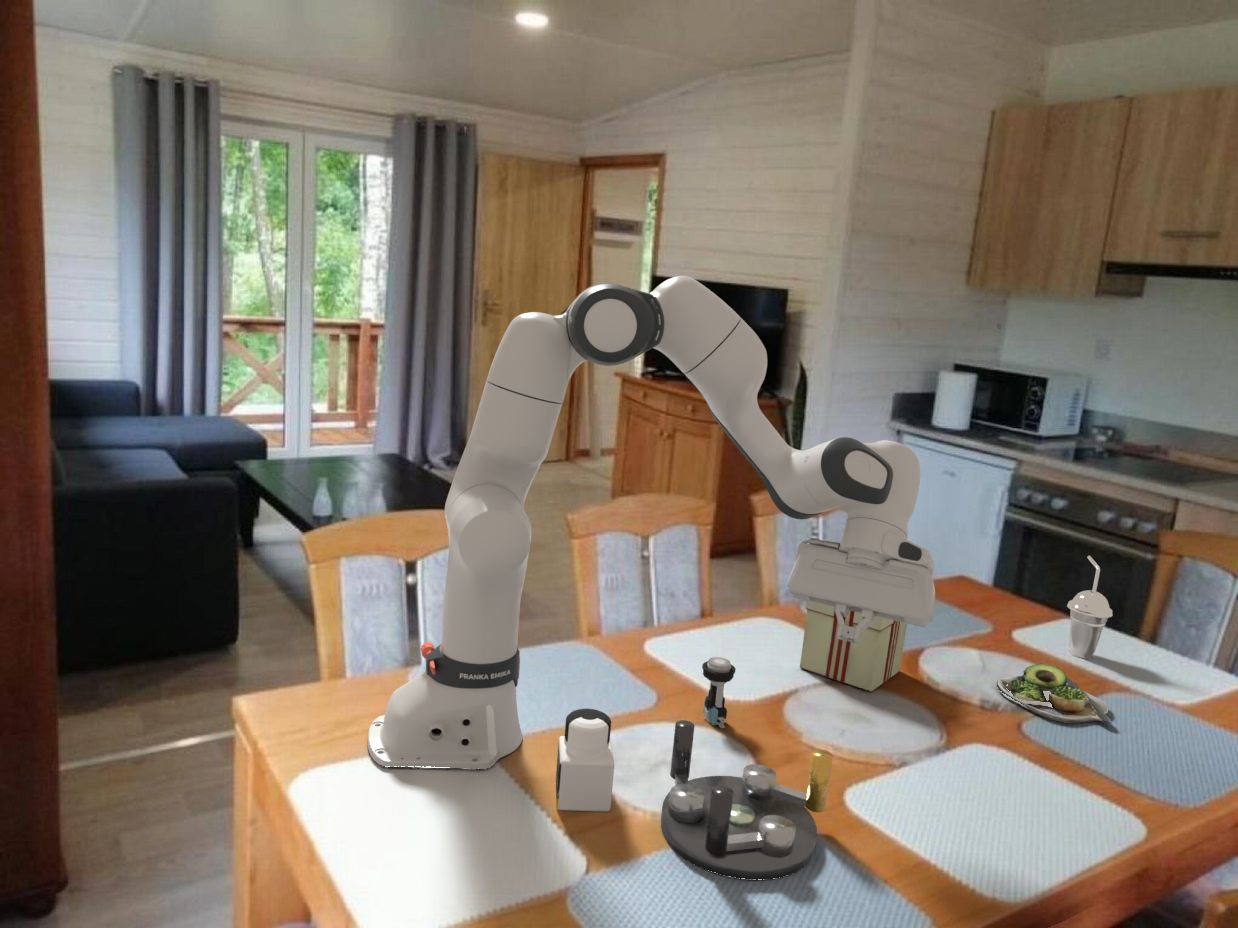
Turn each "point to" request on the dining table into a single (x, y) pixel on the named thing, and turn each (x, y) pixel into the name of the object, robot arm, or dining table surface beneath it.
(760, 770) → the amber footscrew
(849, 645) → the gift box
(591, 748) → the white and black device
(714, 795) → the front black footscrew
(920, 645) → the dining table surface
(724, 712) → the push button
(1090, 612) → the cup with straw
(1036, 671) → the salad plate
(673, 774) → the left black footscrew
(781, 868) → the levelling plate
